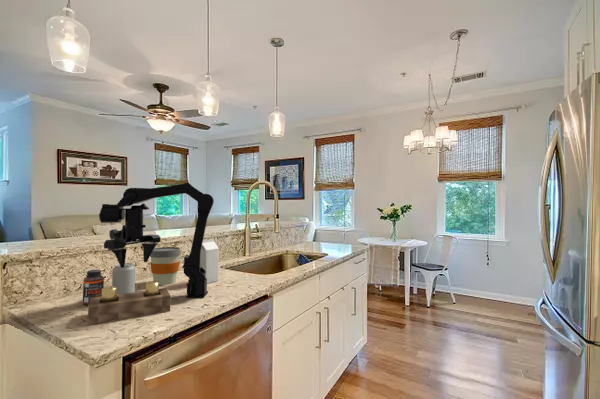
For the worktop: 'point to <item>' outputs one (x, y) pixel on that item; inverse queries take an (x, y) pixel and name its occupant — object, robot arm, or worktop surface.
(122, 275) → the can
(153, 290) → the peg
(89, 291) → the supplement bottle
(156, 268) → the reusable coffee cup
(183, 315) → the worktop surface
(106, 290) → the peg
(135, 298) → the walnut block
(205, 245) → the milk carton
